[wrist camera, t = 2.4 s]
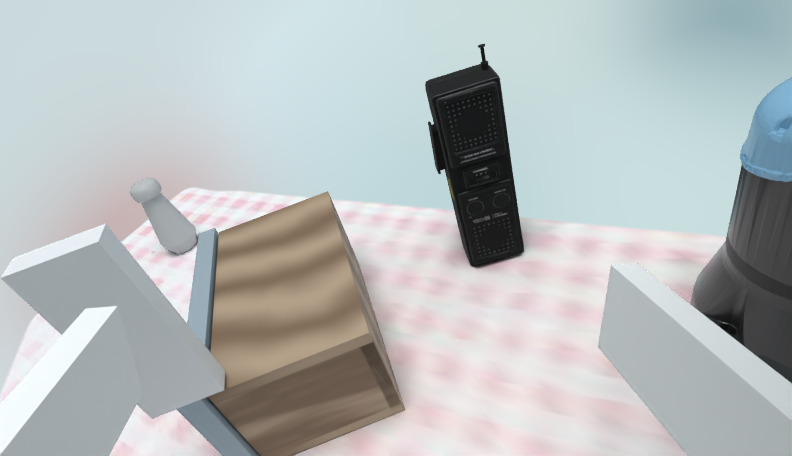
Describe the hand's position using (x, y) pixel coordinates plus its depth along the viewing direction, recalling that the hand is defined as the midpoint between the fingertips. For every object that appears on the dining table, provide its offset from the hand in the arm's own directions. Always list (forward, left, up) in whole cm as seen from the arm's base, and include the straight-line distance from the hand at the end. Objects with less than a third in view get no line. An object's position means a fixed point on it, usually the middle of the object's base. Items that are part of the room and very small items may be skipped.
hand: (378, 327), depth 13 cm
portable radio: (-35, -15, -32) cm, 50 cm away
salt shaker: (-24, -65, -32) cm, 76 cm away
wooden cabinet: (-15, -28, -32) cm, 45 cm away
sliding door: (-9, -34, -32) cm, 47 cm away
